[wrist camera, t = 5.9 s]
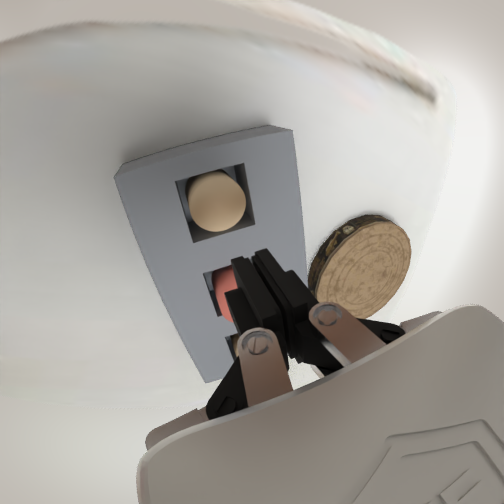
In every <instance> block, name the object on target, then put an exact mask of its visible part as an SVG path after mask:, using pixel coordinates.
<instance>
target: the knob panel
mask: <svg viewBox="0 0 504 504" xmlns="http://www.w3.org/2000/svg"><path fill="white" fill-rule="evenodd" d="M217 169H223V170H224V171H225V172H226V173H227V174H228V175H229V176H230V177H231V178H232V179H233V180H234V181H235V182H236V183H237V184H238V185H239V186H240V187H241V189H242V190H243V192H244V194H245V198H246V207H245V211H244V214H243V216H242V217H241V219H240V220H239V221H238V222H237V223H236V224H235V225H234V226H232V227H231V228H229V229H227V230H224V231H218V232H214V231H208V230H205V229H203V228H201V227H200V226H199V225H197V224H196V223H195V221H194V220H193V218H192V216H191V213H190V209H189V206H188V202H187V198H186V194H185V187H186V183H187V181H188V179H189V177H192V176H195V175H199V174H203V173H206V172H210V171H214V170H217ZM114 179H115V182H116V185H117V188H118V191H119V194H120V197H121V200H122V203H123V206H124V208H125V211H126V214H127V217H128V219H129V222H130V225H131V227H132V230H133V233H134V235H135V238H136V240H137V243H138V245H139V248H140V250H141V253H142V255H143V257H144V260H145V262H146V265H147V267H148V269H149V272H150V274H151V276H152V278H153V281H154V283H155V285H156V287H157V290H158V292H159V294H160V296H161V298H162V301H163V303H164V305H165V307H166V309H167V311H168V313H169V315H170V317H171V319H172V321H173V323H174V325H175V327H176V329H177V331H178V333H179V335H180V337H181V339H182V341H183V343H184V345H185V347H186V349H187V351H188V353H189V354H190V356H191V358H192V360H193V362H194V364H195V366H196V367H197V369H198V371H199V373H200V375H201V376H202V378H203V380H204V382H205V383H209V382H212V381H216V380H219V379H222V378H224V377H225V375H226V374H227V372H228V371H229V369H230V367H231V366H232V364H233V363H234V361H235V360H236V358H237V356H236V353H235V351H234V348H233V345H232V342H231V339H230V335H233V334H236V333H238V332H237V330H236V327H235V325H234V323H233V322H230V321H228V320H227V319H225V318H224V316H223V315H222V313H221V310H220V307H219V304H218V301H217V298H216V295H215V292H214V288H213V285H212V282H211V276H212V273H213V271H214V270H216V269H219V268H223V267H226V266H229V265H232V264H231V259H234V258H237V257H240V256H243V257H244V258H247V257H248V258H249V259H250V261H251V263H252V259H251V256H253V255H255V251H258V250H262V249H265V248H267V249H268V250H269V251H270V253H271V254H272V255H273V257H274V258H275V259H276V261H277V262H278V263H279V265H280V266H281V267H282V269H283V270H284V271H285V272H286V271H289V270H294V271H295V273H296V274H297V275H298V276H299V278H300V279H301V280H302V281H303V283H304V284H305V285H306V286H307V288H308V280H307V265H306V251H305V239H304V227H303V216H302V206H301V196H300V187H299V178H298V169H297V161H296V153H295V145H294V138H293V130H290V129H285V128H281V127H276V126H271V125H269V126H263V127H258V128H253V129H248V130H243V131H238V132H234V133H229V134H225V135H221V136H216V137H212V138H208V139H204V140H200V141H196V142H193V143H189V144H185V145H182V146H178V147H175V148H171V149H168V150H165V151H161V152H158V153H155V154H152V155H149V156H145V157H142V158H139V159H136V160H133V161H131V162H128V163H125V164H122V166H121V167H120V169H119V170H118V172H117V173H116V175H115V176H114ZM287 355H288V353H287ZM288 356H289V355H288Z"/></svg>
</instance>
